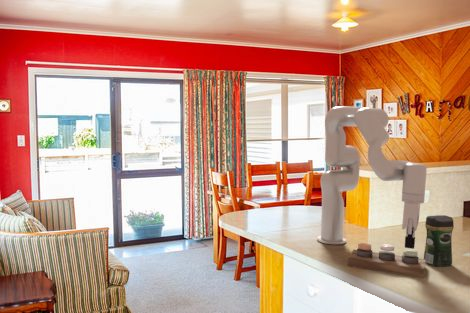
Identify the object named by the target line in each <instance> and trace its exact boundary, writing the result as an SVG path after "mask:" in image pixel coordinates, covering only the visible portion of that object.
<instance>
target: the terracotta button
mask: <svg viewBox="0 0 470 313" xmlns="http://www.w3.org/2000/svg"><path fill="white" fill-rule="evenodd" d="M358 248H359V249H361V250H372V245H371V244H368V243H358V245H357V249H358Z"/></svg>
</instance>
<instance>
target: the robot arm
mask: <svg viewBox="0 0 470 313" xmlns="http://www.w3.org/2000/svg"><path fill="white" fill-rule="evenodd" d="M388 124H389V115H388V112H386V111H385V109H382V108H375V107H364V106H349V105H346V106H345V105H341V106H340V105H339V106H333V107H332V108H330V109H329V110H327V113H326V115H325V119H324V128H325V151H324V152H325V154H324V161H325V164H326V165H327V167H330V168H342V169H332V170H327V171H325V172H323V174H321V177H320V180H319V182H320V188H321V220H320V222H321V224H320V235H318V236H317V237H316V238H317V239H316V240H317V241H318V242H320V243H322V244H326V245H334V246H335V245H344V244H345V243H346V242H347V238H346V237H344V218H345V217H344V214H345V212H344V211H345V202H344V201H345V200H344V198H343V195H342V193H341V192H349V191H354V190H355V189H357V187H358V185H359V179H360V165H361V156H360V152H359V150H358V149H357V148H356V147H355V146H354V145H347V144H346V141H347V136H346V132H345V130H344V128H343V127H357V129H358V131H359V132H360V135H362V137H363V138H364V140H365V141H366V143H367V145H368V149H367V160H368V162H369V163H368V164H369V165H370V167H371V169H372V170H373V172H374V174H375V175H376V176H377V178H379V179H380V180H381V181H383V182H394V181H397V182H400V181H402V187H401V191H402V192H401V201H402V202H404V203H403V211H402V212H403V213H402V224H401V229H402V230H406V231H405V232H406V233H405V237H404V248H405V249H410V250H415V242H416V237H415V236H416V231H417V230H418V225H419V221H420V213H421V205H422V204H424V203H425V196H426V182H427V181H426V180H427V166H426V164H424V163H420V162H412V161H408V160H404V159H403V160H402V159H399V160H398V159H396V160H391V159H390V160H388V159H387V157H386V156H385V154H384V153H383V152H384V151H382V147H383V146H384V145H386V144H387V143H388V141H389V140H390V134H389V132H388V131H387V130H386V127H387V125H388Z"/></svg>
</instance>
